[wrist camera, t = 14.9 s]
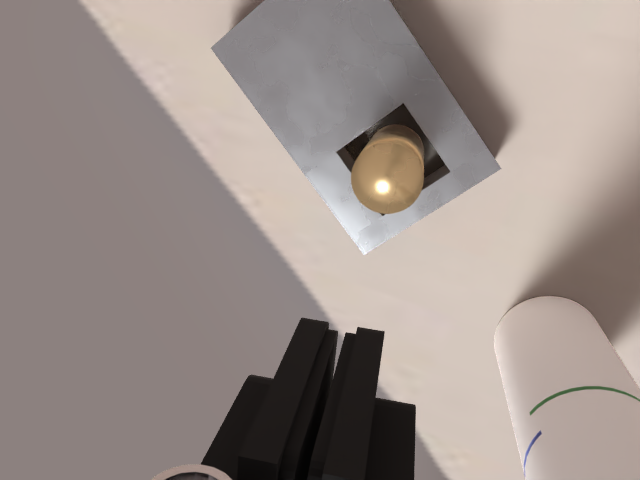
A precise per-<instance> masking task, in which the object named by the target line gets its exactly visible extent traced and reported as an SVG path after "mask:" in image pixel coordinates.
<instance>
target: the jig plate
mask: <svg viewBox="0 0 640 480" xmlns="http://www.w3.org/2000/svg"><path fill="white" fill-rule="evenodd" d="M211 49H212V50H213V52H214V53H215V54H216V56H217V57H218V59H219V60H220V61H221V63H222V64H223V65H224V67H225V68H226V69H227V71H228V72H229V73H230V75H231V76H232V77H233V79H234V80H235V81H236V83H237V84H238V86H239V87H240V88H241V90H242V91H243V92H244V94H245V95H246V96H247V98H248V99H249V100H250V102H251V103H252V104H253V106H254V107H255V109H256V110H257V111H258V113H259V114H260V115H261V117H262V118H263V119H264V121H265V122H266V123H267V125H268V126H269V127H270V129H271V130H272V131H273V133H274V134H275V136H276V137H277V138H278V140H279V141H280V142H281V144H282V145H283V146H284V148H285V149H286V150H287V152H288V153H289V154H290V156H291V157H292V159H293V160H294V161H295V163H296V164H297V165H298V167H299V168H300V169H301V171H302V172H303V173H304V175H305V176H306V177H307V179H308V180H309V181H310V183H311V184H312V186H313V187H314V188H315V190H316V191H317V192H318V194H319V195H320V196H321V198H322V199H323V200H324V202H325V203H326V204H327V206H328V207H329V209H330V210H331V211H332V213H333V214H334V215H335V217H336V218H337V219H338V221H339V222H340V223H341V225H342V226H343V227H344V229H345V230H346V231H347V233H348V234H349V236H350V237H351V238H352V240H353V241H354V242H355V244H356V245H357V246H358V248H359V249H360V250H361V252H362V253H363V254H364V255H365V254H367V253H368V252H370V251H371V250H373V249H375V248H376V247H378V246H379V245H381V244H382V243H384V242H386V241H387V240H389V239H390V238H392V237H394V236H395V235H397V234H398V233H400V232H402V231H403V230H405V229H406V228H408V227H409V226H411V225H413V224H414V223H416V222H417V221H419V220H421V219H422V218H424V217H425V216H427V215H428V214H430V213H432V212H433V211H435V210H436V209H438V208H440V207H441V206H443V205H444V204H446V203H448V202H449V201H451V200H452V199H454V198H455V197H457V196H459V195H460V194H462V193H463V192H465V191H467V190H468V189H470V188H471V187H473V186H474V185H476V184H478V183H479V182H481V181H482V180H484V179H486V178H487V177H489V176H490V175H492V174H494V173H495V172H497V171H498V170H500V169H501V168H500V166H499V164H498V163H497V161H496V160H495V158H494V157H493V155H492V154H491V152H490V151H489V149H488V148H487V146H486V145H485V143H484V142H483V140H482V139H481V137H480V136H479V134H478V133H477V131H476V130H475V128H474V127H473V125H472V124H471V122H470V121H469V119H468V118H467V116H466V115H465V113H464V112H463V110H462V109H461V107H460V106H459V104H458V103H457V101H456V100H455V98H454V97H453V95H452V94H451V92H450V91H449V89H448V88H447V86H446V85H445V83H444V82H443V80H442V79H441V77H440V76H439V74H438V73H437V71H436V70H435V68H434V67H433V65H432V64H431V62H430V61H429V59H428V58H427V56H426V55H425V53H424V52H423V50H422V49H421V47H420V46H419V44H418V42H417V41H416V39H415V38H414V36H413V35H412V33H411V32H410V30H409V29H408V27H407V26H406V24H405V23H404V21H403V20H402V18H401V17H400V15H399V14H398V12H397V11H396V9H395V8H394V6H393V5H392V3H391V2H390V0H264V1H263V2H262V3H261V4H260V5H258V6H257V7H256V8H255V9H254V10H253V11H252V12H251V13H249V14H248V15H247V16H246V17H245V18H244V19H243V20H242V21H240V22H239V23H238V24H237V25H236V26H235V27H234V28H233V29H231V30H230V31H229V32H228V33H227V34H226V35H225V36H224V37H223V38H221V39H220V40H219V41H218V42H217V43H216V44H215V45H214V46H212V47H211ZM403 103H404V105H405V106H406V107H407V109H408V110H409V112H410V113H411V115H412V116H413V118H414V119H415V121H416V122H417V124H418V125H419V126H420V128H421V129H422V131H423V132H424V134H425V135H426V137H427V138H428V140H429V141H430V143H431V144H432V145H433V147H434V148H435V150H436V151H437V153H438V154H439V156H440V157H441V159H442V160H443V162H444V163H445V165H444V166H442V167H441V168H439V169H438V170H436V171H435V172H433V173H432V174H430V175H428V176H427V177H425V178H424V181H423V187H422V190H421V193H420V195H419V197H418V198H417V200H416V201H415V202H414V203H413V204H412V205H411V206H410V207H408V208H406V209H405V210H403V211H400V212H397V213H393V214H382V213H377V212H374V211H372V210H370V209H368V208H367V207H365V206H364V205H363V204H362V203H361V202H360V201H359V200H358V199H357V197H356V195H355V194H354V191H353V189H352V185H351V172H352V168H353V165H354V163H355V161H354V159H353V158H352V157H351V155H350V154H349V152H348V151H347V150H346V148H345V147H344V146H345V145H346V144H348V143H349V142H351V141H352V140H353V139H355V138H356V137H357V136H359V135H360V134H362V133H363V132H364V131H366V130H367V129H369V128H370V127H371V126H373V125H374V124H375V123H377V122H378V121H380V120H381V119H382V118H384V117H385V116H386V115H388V114H389V113H391V112H392V111H393V110H395V109H396V108H398V107H399V106H400V105H402V104H403Z"/></svg>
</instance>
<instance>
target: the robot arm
mask: <svg viewBox="0 0 640 480" xmlns="http://www.w3.org/2000/svg"><path fill="white" fill-rule="evenodd" d="M328 328H329V323H328V322H324V321H318V320H312V319H307V318H301V320H300V322H299V324H298V326H297V328H296V330H295V333H294V335H293V337H292V339H291V341H290V343H289V346H288V348H287V350H286V352H285V354H284V357H283V359H282V361H281V363H280V366H279V368H278V370H277V372H276V375H275V376H274V379H271V378H266V377H261V376H256V375H250V376H248V378H247V379H246V381H245V383H244V384H243V386H242V389H241V390H240V392H239V394H238V396H237V397H236V399H235V401H234V403H233V405H232V407H231V409H230V411H229V412H228V414H227V416H226V418H225V420H224V422H223V424H222V426H221V427H220V430H219V431H218V433H217V435H216V437H215V438H214V440H213V442H212V444H211V446H210V448H209V450H208V452H207V453H206V455H205V457H204V459H203V461H202V463H201V465H200V464H197V465H196V464H195V465H182V466H178V467H174V468H170V469H168V470H166V471H164V472H162V473H160V474H158V475H156V476H155V477H153V478H152V479H151V480H414V461H415V418H416V407H415V405H413V404H407V403H402V402H397V401H391V400H386V399H380V398H375V396H376V390H377V383H378V375H379V368H380V361H381V354H382V347H383V340H384V331H378V330H372V329H366V328H360V327H358V328H357V332H356V334H352V333H347V332H346V334H345V337H344V341H343V344H342V348H341V352H340V355H339V359H338V363H337V366H336V370H335V374H334V377H333V373H334V364H335V355H336V346H337V337H338V331H335V330H329V329H328Z"/></svg>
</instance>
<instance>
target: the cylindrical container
mask: <svg viewBox="0 0 640 480" xmlns="http://www.w3.org/2000/svg"><path fill="white" fill-rule="evenodd" d="M494 348H495V353H496V357H497V361H498V366H499V370H500V374H501V378H502V382H503V387H504V391H505V395H506V399H507V403H508V408H509V412H510V416H511V420H512V424H513V429H514V433H515V437H516V441H517V446H518V450H519V454H520V458H521V463H522V467H523V471H524V475H525V480H640V389H639V387H638V385H637V384H636V382H635V381H634V379H633V378H632V376H631V374H630V373H629V371H628V370H627V368H626V367H625V365H624V363H623V362H622V360H621V359H620V357H619V356H618V354H617V352H616V351H615V349H614V348H613V346H612V345H611V343H610V341H609V340H608V338H607V337H606V335H605V334H604V332H603V330H602V329H601V327H600V326H599V324H598V323H597V321H596V319H595V318H594V316H593V315H592V314H591V313H590V312H589V311H588V310H587V309H586V308H585V307H583V306H582V305H580V304H579V303H577V302H575V301H572V300H570V299H566V298H563V297H556V296H542V297H536V298H532V299H528V300H526V301H524V302H521V303H519V304H517V305H516V306H514V307H513V308H512V309H510V310H509V311H508V312H507V313H506V314H505V315H504V316H503V318H502V319H501V321H500V322H499V324H498V326H497V329H496V331H495V337H494Z"/></svg>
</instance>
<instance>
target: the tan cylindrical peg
mask: <svg viewBox="0 0 640 480" xmlns="http://www.w3.org/2000/svg"><path fill="white" fill-rule="evenodd" d="M423 181H424V146H423V143H422V140H421V138H420V137H419V135H418V134H417V133H416V132H415V131H414V130H412V129H411V128H409V127H407V126H404V125H399V124H393V125H388V126H385V127H383V128H381V129H379V130H378V131H377V132H376V133H374V135H373V136H372V137H371V139H370V140H369V142H368V143H367V145H366V146H365V148H364V149H363V150H362V152H361V153H360V155H359V156H358V158H357V159H356V161H355V163H354V165H353V168H352V172H351V185H352V189H353V191H354V194H355V195H356V197H357V199H358V200H359V201H360V202H361V203H362V204H363V205H364V206H365V207H367V208H368V209H370V210H372V211H374V212H377V213H382V214H393V213H397V212H400V211H403V210H405V209H406V208H408V207H410V206H411V205H412V204H413V203H414V202H415V201H416V200H417V198H418V197H419V195H420V193H421V190H422V187H423Z"/></svg>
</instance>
